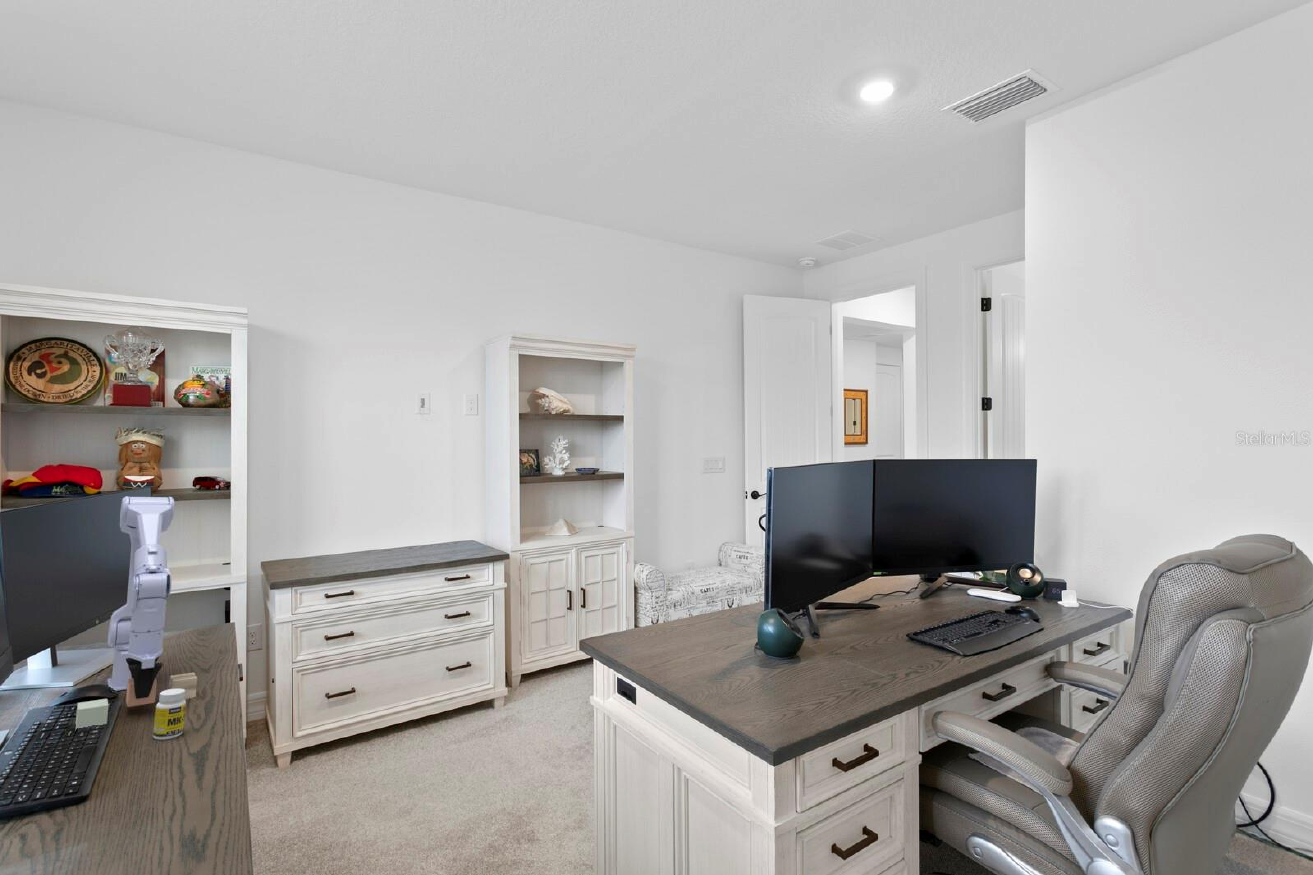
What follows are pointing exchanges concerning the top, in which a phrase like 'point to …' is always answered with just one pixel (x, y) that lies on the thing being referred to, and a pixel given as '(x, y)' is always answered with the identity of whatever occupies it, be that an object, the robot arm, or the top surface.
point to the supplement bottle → (169, 714)
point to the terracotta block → (133, 701)
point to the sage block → (92, 713)
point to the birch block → (184, 684)
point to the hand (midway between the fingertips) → (140, 694)
